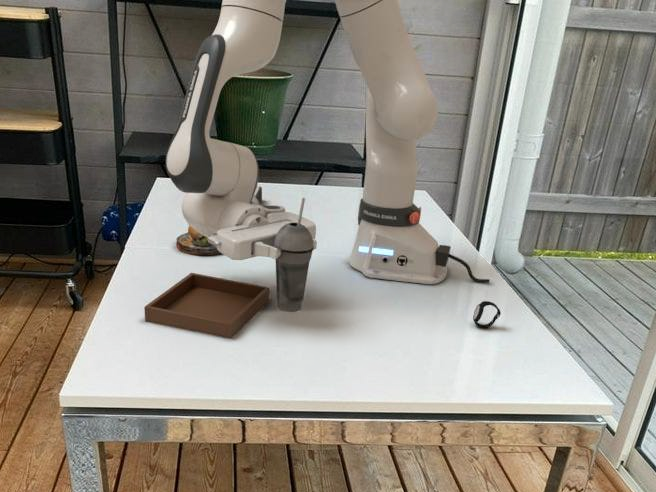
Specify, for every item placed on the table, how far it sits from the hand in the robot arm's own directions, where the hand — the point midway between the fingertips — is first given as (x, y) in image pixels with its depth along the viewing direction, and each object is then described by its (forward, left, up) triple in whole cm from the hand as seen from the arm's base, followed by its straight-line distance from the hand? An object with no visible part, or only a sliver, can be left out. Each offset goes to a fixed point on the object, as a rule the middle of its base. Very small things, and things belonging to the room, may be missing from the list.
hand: (296, 249), depth 136 cm
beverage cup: (+1, 0, -11) cm, 11 cm away
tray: (+16, +2, -14) cm, 22 cm away
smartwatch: (-34, -15, -14) cm, 40 cm away
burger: (+33, -31, -14) cm, 48 cm away
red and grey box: (+41, -68, -14) cm, 81 cm away
